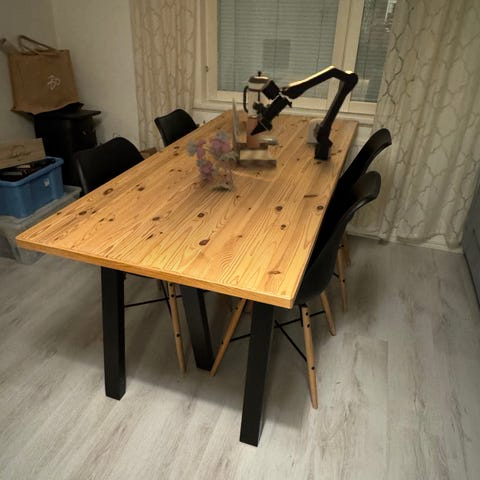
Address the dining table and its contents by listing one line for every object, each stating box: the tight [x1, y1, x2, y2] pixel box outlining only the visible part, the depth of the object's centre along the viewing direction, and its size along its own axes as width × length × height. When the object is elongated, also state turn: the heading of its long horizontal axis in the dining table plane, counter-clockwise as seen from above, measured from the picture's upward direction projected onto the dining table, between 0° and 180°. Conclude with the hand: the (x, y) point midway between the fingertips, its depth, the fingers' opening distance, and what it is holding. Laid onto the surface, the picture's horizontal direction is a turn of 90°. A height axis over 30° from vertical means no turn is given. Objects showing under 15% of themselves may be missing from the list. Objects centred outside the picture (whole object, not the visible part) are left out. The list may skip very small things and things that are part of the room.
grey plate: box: [260, 134, 279, 146], centre depth 209 cm, size 12×12×2 cm
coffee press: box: [242, 70, 271, 125], centre depth 236 cm, size 17×16×30 cm
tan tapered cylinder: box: [246, 115, 261, 148], centre depth 180 cm, size 6×6×13 cm
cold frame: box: [232, 96, 278, 168], centre depth 181 cm, size 18×28×25 cm, turn 4°
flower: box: [181, 128, 240, 192], centre depth 154 cm, size 20×22×25 cm
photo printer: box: [306, 117, 324, 144], centre depth 208 cm, size 10×4×12 cm, turn 98°
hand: (250, 133), depth 181 cm, fingers closed on tan tapered cylinder, 6 cm apart
